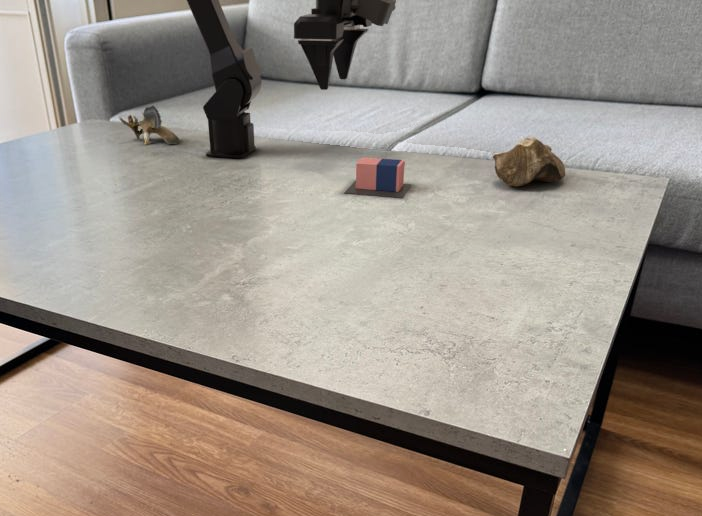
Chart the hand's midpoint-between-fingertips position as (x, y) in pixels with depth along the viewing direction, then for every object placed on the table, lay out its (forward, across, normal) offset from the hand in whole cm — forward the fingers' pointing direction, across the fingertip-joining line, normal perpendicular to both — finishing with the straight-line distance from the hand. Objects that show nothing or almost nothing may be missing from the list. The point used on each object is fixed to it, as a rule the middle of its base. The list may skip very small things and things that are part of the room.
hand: (334, 84), depth 107 cm
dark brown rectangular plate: (+11, -15, -12) cm, 22 cm away
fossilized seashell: (+11, -7, -30) cm, 33 cm away
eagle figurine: (+11, +1, +34) cm, 36 cm away
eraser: (+11, -15, -12) cm, 22 cm away
